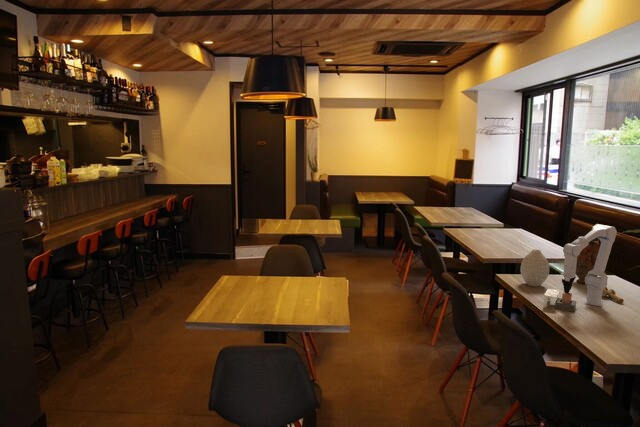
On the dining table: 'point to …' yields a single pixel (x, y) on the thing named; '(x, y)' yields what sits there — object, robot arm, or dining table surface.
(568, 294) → the peg
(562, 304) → the socket
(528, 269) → the vase
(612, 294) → the kendama
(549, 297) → the beige block
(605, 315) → the dining table surface
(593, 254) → the pitcher
